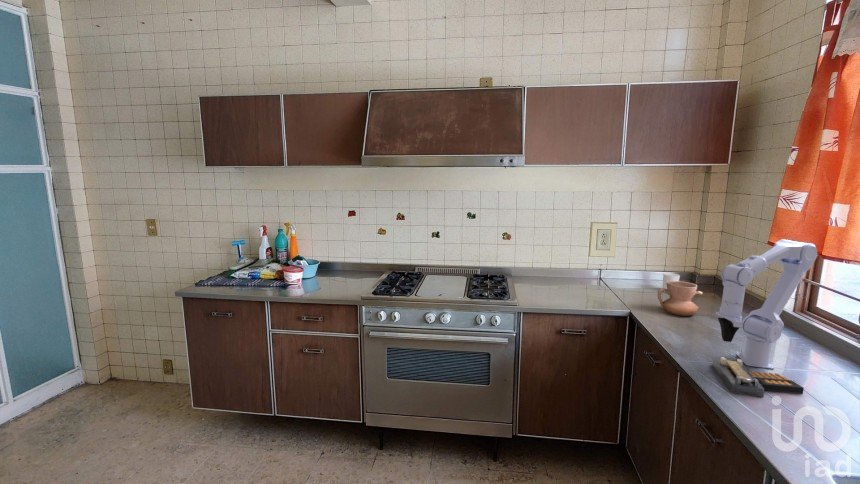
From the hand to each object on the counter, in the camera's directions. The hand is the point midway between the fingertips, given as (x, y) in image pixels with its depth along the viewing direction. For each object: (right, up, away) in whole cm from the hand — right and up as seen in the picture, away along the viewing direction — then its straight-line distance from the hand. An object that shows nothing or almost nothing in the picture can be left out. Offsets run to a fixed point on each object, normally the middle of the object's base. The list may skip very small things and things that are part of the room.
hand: (726, 340), depth 142 cm
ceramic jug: (+16, 0, +57) cm, 59 cm away
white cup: (+32, +5, +91) cm, 96 cm away
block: (-2, -11, -7) cm, 13 cm away
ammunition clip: (+7, -11, -15) cm, 20 cm away
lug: (0, -7, -2) cm, 8 cm away
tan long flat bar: (-2, -8, -9) cm, 12 cm away
